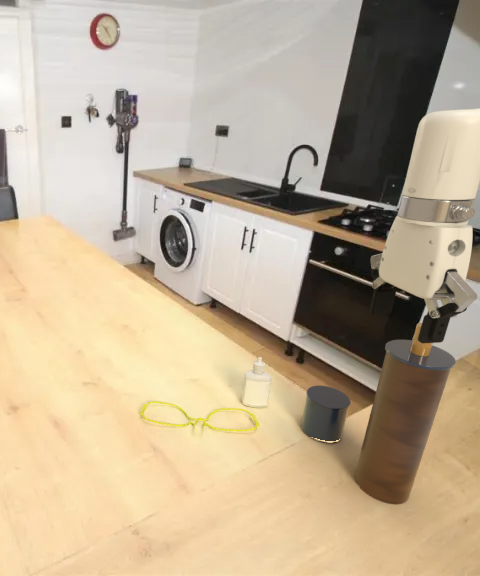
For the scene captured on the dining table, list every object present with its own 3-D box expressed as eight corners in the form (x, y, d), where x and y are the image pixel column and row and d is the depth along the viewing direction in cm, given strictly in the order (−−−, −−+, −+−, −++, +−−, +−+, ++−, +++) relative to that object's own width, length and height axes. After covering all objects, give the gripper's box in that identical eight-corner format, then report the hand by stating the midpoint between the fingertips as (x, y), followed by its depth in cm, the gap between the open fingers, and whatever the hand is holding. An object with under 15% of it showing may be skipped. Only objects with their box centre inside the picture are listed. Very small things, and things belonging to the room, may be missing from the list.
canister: (331, 419, 89) (338, 385, 86) (350, 444, 81) (358, 408, 78) (294, 418, 89) (300, 385, 86) (309, 443, 82) (317, 408, 79)
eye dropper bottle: (263, 413, 91) (269, 366, 87) (238, 403, 94) (243, 357, 90) (269, 403, 94) (276, 357, 90) (245, 394, 98) (251, 350, 93)
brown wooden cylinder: (390, 468, 75) (427, 343, 66) (420, 505, 68) (466, 369, 59) (345, 467, 76) (376, 342, 67) (370, 503, 68) (408, 369, 59)
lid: (428, 342, 67) (436, 314, 65) (470, 370, 59) (481, 339, 57) (373, 341, 67) (380, 314, 65) (407, 370, 59) (416, 339, 57)
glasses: (254, 413, 91) (256, 395, 89) (263, 444, 82) (266, 424, 80) (141, 403, 95) (142, 385, 94) (138, 431, 86) (138, 412, 84)
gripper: (527, 222, 46) (482, 354, 52) (410, 200, 63) (385, 302, 69) (464, 224, 46) (425, 357, 52) (362, 201, 62) (342, 305, 68)
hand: (403, 326), depth 60 cm, fingers open, 9 cm apart
